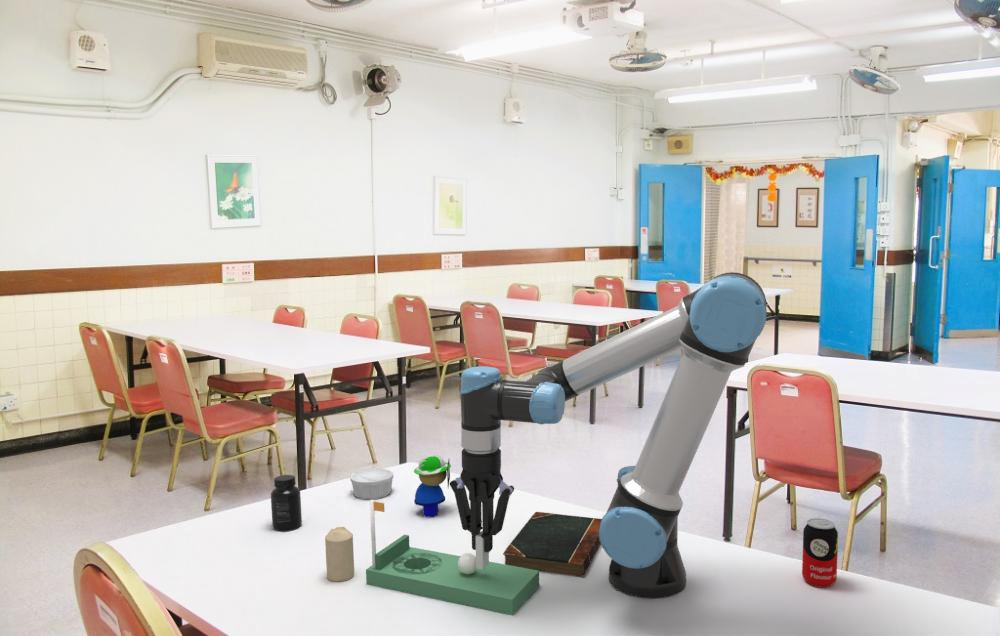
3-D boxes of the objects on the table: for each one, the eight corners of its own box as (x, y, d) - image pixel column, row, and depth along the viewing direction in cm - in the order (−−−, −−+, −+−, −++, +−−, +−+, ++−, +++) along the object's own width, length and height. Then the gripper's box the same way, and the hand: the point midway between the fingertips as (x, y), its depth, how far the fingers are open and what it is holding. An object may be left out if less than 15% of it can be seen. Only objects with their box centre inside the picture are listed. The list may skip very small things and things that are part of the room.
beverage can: (794, 578, 159) (796, 520, 158) (819, 572, 162) (821, 515, 160) (818, 591, 153) (821, 531, 152) (843, 585, 156) (845, 526, 154)
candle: (348, 583, 161) (346, 535, 159) (322, 580, 162) (320, 533, 160) (358, 571, 166) (356, 524, 165) (333, 569, 167) (331, 523, 166)
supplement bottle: (308, 524, 192) (305, 475, 190) (286, 534, 186) (283, 484, 185) (288, 518, 196) (285, 471, 194) (266, 528, 190) (263, 479, 188)
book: (535, 525, 190) (501, 569, 167) (535, 511, 190) (501, 553, 166) (607, 533, 185) (583, 580, 161) (607, 518, 184) (583, 563, 161)
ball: (475, 546, 158) (460, 554, 160) (465, 554, 154) (450, 562, 156) (485, 564, 158) (470, 572, 159) (476, 573, 154) (460, 580, 156)
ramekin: (345, 500, 208) (344, 480, 207) (359, 486, 219) (358, 467, 218) (386, 502, 206) (385, 482, 206) (399, 487, 217) (398, 469, 216)
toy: (450, 519, 193) (449, 459, 191) (412, 519, 194) (410, 459, 192) (453, 506, 202) (451, 448, 200) (416, 506, 202) (415, 449, 200)
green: (539, 585, 158) (538, 502, 156) (512, 615, 146) (510, 525, 144) (401, 558, 172) (398, 481, 169) (366, 583, 160) (363, 502, 158)
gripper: (520, 447, 153) (520, 564, 156) (460, 439, 158) (461, 553, 162) (504, 457, 146) (504, 580, 149) (441, 449, 152) (443, 567, 155)
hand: (482, 566), depth 155 cm, fingers closed
